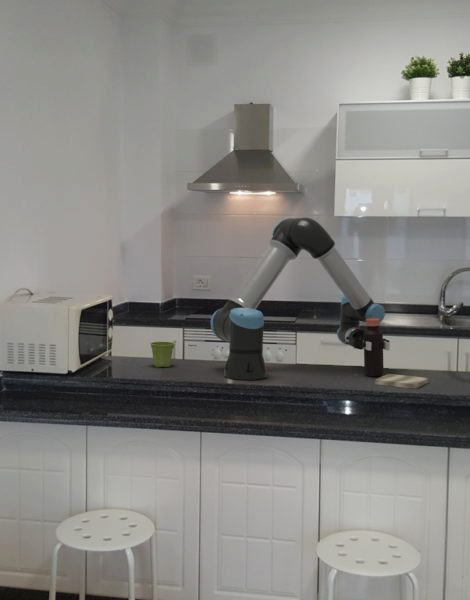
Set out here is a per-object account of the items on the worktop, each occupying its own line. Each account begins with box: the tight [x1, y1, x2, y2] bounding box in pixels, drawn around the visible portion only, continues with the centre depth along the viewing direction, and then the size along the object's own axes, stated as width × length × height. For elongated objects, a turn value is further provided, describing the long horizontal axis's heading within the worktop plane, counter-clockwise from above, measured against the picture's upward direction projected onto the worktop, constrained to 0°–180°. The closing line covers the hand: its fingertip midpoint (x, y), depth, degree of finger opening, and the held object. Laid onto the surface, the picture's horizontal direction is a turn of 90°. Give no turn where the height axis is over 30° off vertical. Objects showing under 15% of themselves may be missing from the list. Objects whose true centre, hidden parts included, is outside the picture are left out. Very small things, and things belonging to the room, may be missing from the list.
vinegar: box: [363, 318, 385, 377], centre depth 252 cm, size 7×7×20 cm
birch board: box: [374, 373, 429, 390], centre depth 240 cm, size 14×14×2 cm
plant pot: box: [149, 341, 176, 368], centre depth 265 cm, size 9×9×9 cm
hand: (379, 346), depth 248 cm, fingers closed on vinegar, 6 cm apart
